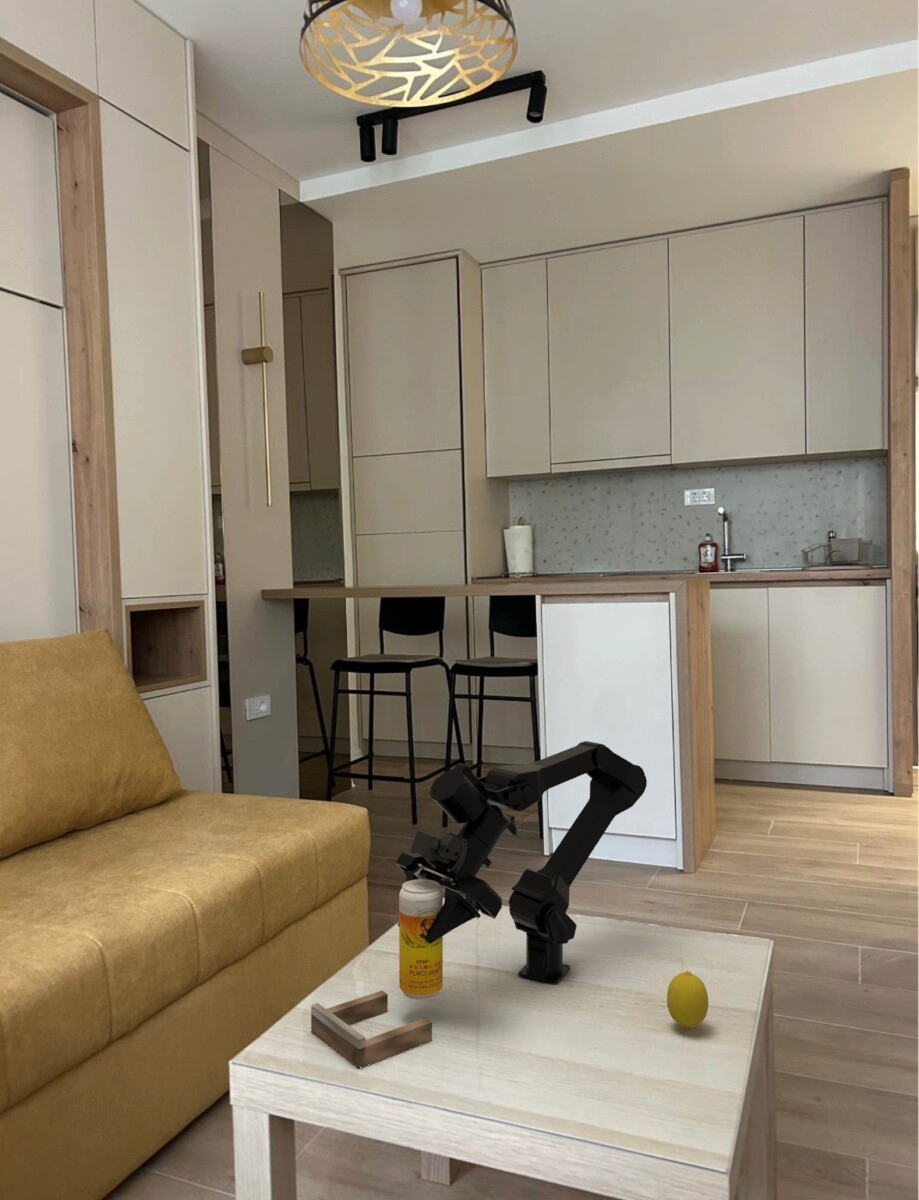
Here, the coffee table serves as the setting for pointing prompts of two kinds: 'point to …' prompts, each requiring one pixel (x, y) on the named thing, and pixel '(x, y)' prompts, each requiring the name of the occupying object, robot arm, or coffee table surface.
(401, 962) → the beer can
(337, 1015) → the frame
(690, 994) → the lemon
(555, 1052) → the coffee table surface
